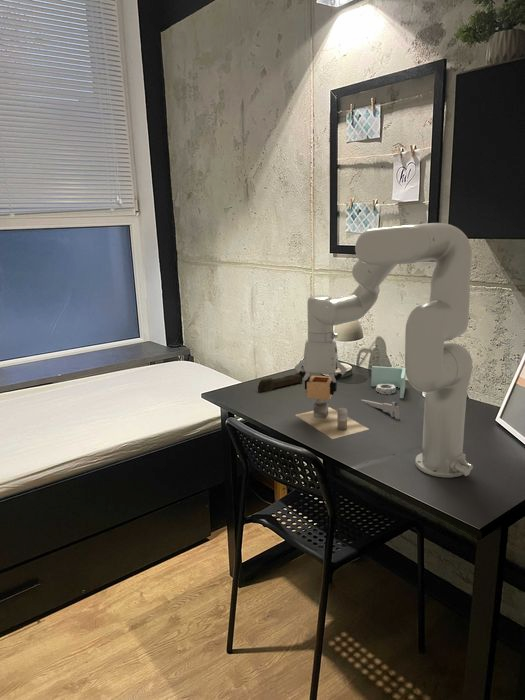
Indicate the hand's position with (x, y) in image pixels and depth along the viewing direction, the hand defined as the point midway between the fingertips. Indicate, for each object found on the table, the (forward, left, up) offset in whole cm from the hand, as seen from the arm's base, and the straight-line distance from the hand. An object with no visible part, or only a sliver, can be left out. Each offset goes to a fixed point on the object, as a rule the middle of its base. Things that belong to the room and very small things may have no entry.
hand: (320, 391), depth 159 cm
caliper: (-4, -19, -9) cm, 22 cm away
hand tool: (+33, -4, -9) cm, 35 cm away
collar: (0, 0, -1) cm, 1 cm away
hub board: (-6, 0, -9) cm, 11 cm away
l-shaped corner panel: (+8, -33, -9) cm, 36 cm away
